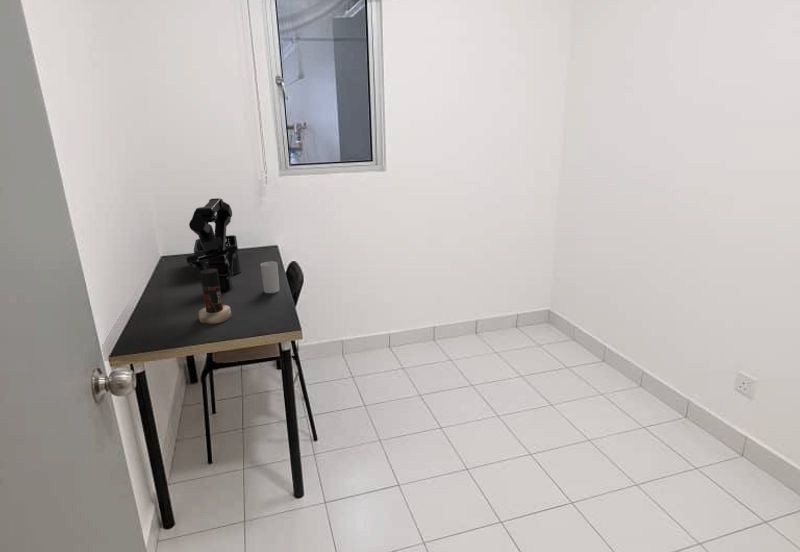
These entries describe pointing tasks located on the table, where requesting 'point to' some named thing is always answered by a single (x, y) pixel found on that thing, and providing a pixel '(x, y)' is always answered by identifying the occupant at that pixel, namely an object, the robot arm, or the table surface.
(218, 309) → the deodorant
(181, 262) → the table surface
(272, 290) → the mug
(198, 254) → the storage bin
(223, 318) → the beige round flatbread
